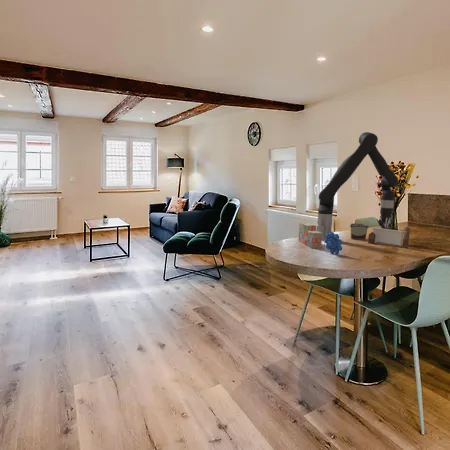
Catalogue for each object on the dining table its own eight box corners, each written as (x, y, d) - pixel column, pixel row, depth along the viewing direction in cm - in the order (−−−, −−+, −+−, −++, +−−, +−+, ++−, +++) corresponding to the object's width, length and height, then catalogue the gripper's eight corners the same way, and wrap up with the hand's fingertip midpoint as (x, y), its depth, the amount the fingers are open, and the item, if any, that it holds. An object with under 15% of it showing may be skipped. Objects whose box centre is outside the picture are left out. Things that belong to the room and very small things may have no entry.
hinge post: (407, 248, 207) (409, 227, 205) (401, 247, 209) (403, 226, 207) (408, 247, 209) (411, 226, 207) (403, 246, 211) (405, 226, 209)
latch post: (372, 243, 219) (373, 232, 218) (367, 243, 221) (368, 232, 220) (374, 243, 221) (375, 232, 220) (370, 242, 223) (371, 231, 222)
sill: (400, 247, 209) (400, 246, 209) (374, 243, 220) (374, 242, 220) (402, 246, 212) (402, 245, 212) (377, 242, 223) (377, 241, 223)
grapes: (318, 252, 191) (320, 231, 189) (326, 250, 195) (327, 230, 193) (336, 256, 182) (338, 234, 180) (344, 255, 186) (346, 233, 184)
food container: (365, 237, 239) (366, 223, 237) (367, 239, 233) (369, 225, 231) (346, 237, 240) (347, 223, 238) (348, 238, 234) (350, 224, 232)
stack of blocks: (321, 248, 202) (322, 227, 200) (311, 248, 201) (312, 227, 199) (307, 241, 223) (308, 222, 221) (298, 241, 222) (299, 222, 220)
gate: (402, 245, 211) (403, 231, 210) (400, 245, 210) (402, 231, 208) (373, 240, 224) (374, 227, 223) (371, 240, 223) (372, 227, 221)
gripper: (383, 207, 218) (380, 234, 220) (399, 207, 222) (396, 233, 225) (374, 206, 225) (372, 232, 227) (390, 206, 229) (387, 231, 232)
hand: (384, 233), depth 226 cm, fingers closed
